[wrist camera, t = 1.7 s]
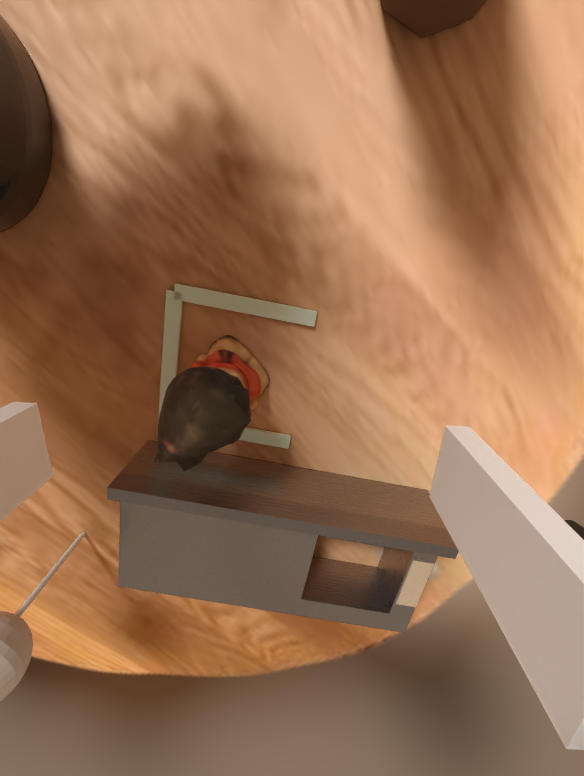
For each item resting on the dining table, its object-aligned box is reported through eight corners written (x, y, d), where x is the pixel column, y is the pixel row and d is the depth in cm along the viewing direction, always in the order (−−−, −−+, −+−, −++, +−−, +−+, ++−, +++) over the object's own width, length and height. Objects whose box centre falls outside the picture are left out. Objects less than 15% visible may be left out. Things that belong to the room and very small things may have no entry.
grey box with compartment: (142, 543, 35) (106, 607, 29) (148, 440, 31) (107, 487, 25) (391, 584, 36) (410, 656, 30) (427, 490, 32) (459, 548, 26)
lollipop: (86, 499, 34) (-70, 670, 20) (125, 541, 35) (8, 726, 21) (40, 525, 35) (-137, 703, 21) (81, 564, 37) (-59, 754, 22)
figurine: (263, 412, 30) (239, 501, 19) (199, 398, 30) (136, 481, 19) (277, 341, 28) (260, 395, 17) (208, 326, 28) (144, 371, 16)
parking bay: (159, 423, 31) (157, 425, 30) (168, 281, 27) (166, 281, 26) (288, 446, 31) (288, 448, 31) (317, 310, 27) (317, 311, 27)
